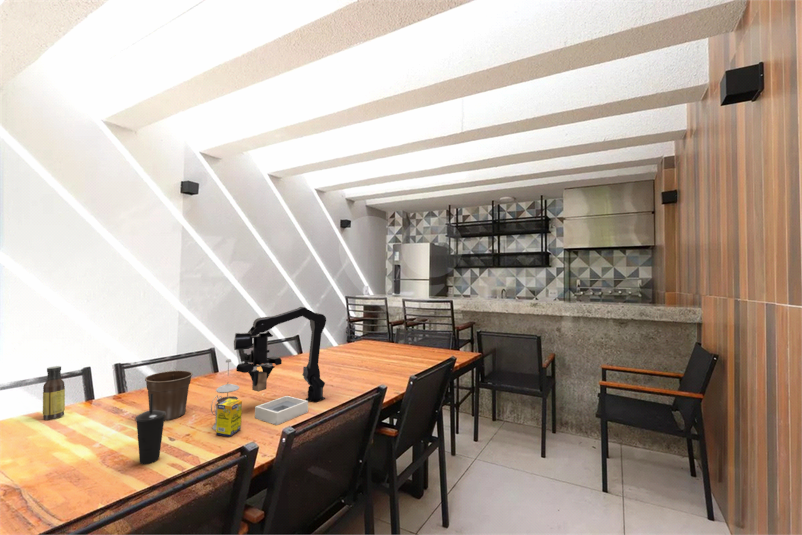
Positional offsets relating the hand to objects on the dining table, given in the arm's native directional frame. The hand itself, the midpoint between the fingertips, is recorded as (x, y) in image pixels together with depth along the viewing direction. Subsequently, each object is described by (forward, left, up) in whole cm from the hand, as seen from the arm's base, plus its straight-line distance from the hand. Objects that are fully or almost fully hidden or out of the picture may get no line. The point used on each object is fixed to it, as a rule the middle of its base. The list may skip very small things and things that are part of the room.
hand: (259, 384), depth 150 cm
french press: (+18, +4, -11) cm, 21 cm away
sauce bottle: (+49, -61, -11) cm, 79 cm away
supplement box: (+21, +10, -10) cm, 25 cm away
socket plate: (-1, +13, -10) cm, 17 cm away
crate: (-1, +13, -10) cm, 17 cm away
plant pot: (+24, -25, -11) cm, 36 cm away
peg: (0, 0, -2) cm, 2 cm away
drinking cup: (+45, +8, -11) cm, 47 cm away
